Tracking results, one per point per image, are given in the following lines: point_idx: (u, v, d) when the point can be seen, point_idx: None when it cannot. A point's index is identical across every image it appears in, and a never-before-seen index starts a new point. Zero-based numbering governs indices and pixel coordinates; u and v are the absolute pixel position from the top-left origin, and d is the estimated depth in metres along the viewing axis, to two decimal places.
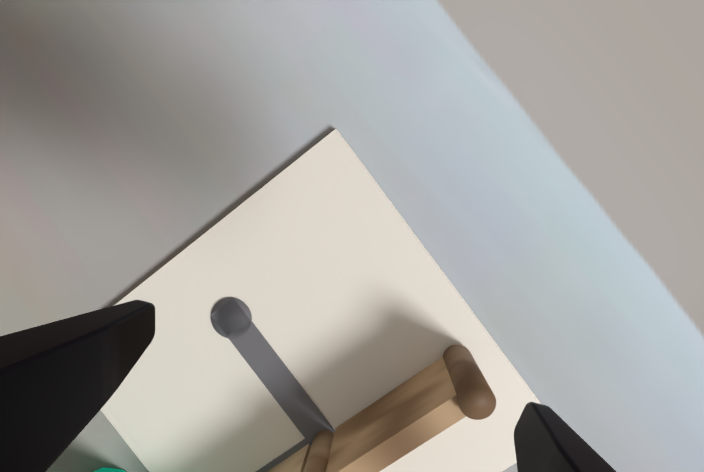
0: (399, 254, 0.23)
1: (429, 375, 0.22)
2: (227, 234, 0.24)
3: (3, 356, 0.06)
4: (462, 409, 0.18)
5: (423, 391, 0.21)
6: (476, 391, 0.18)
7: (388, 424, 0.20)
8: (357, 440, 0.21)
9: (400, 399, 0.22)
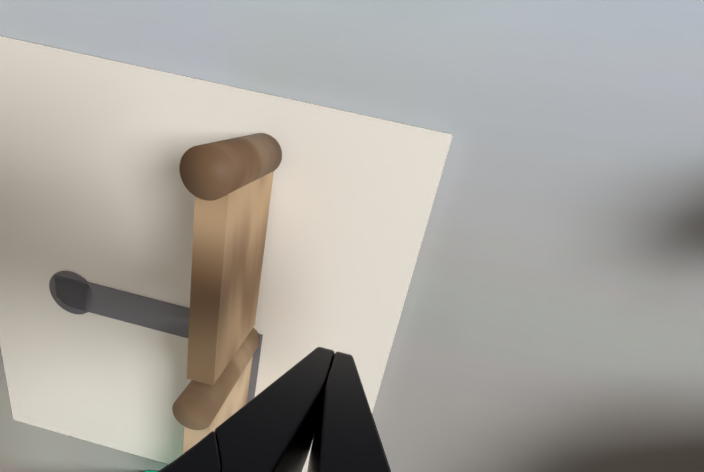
0: (117, 96, 0.17)
1: None
2: None
3: (272, 431, 0.06)
4: (201, 197, 0.12)
5: None
6: (192, 161, 0.12)
7: None
8: None
9: None
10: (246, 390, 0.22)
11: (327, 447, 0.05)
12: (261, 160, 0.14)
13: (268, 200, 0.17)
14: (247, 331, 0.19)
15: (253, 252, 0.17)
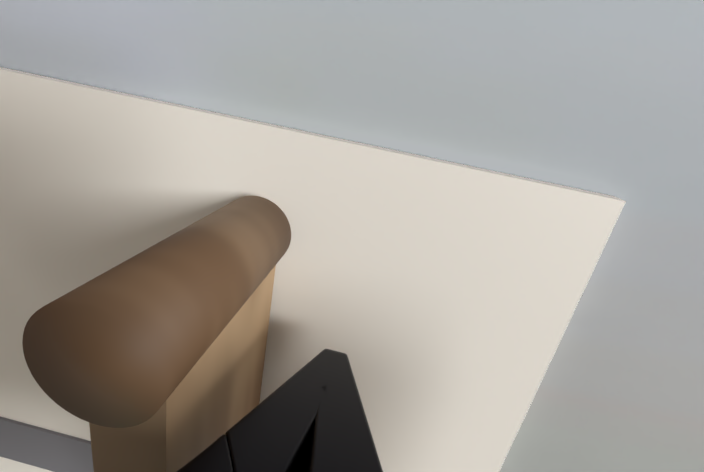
0: None
1: None
2: None
3: (282, 433, 0.06)
4: (89, 418, 0.05)
5: None
6: (55, 338, 0.04)
7: None
8: None
9: None
10: None
11: (318, 445, 0.06)
12: (251, 272, 0.07)
13: (268, 311, 0.10)
14: None
15: (241, 412, 0.09)
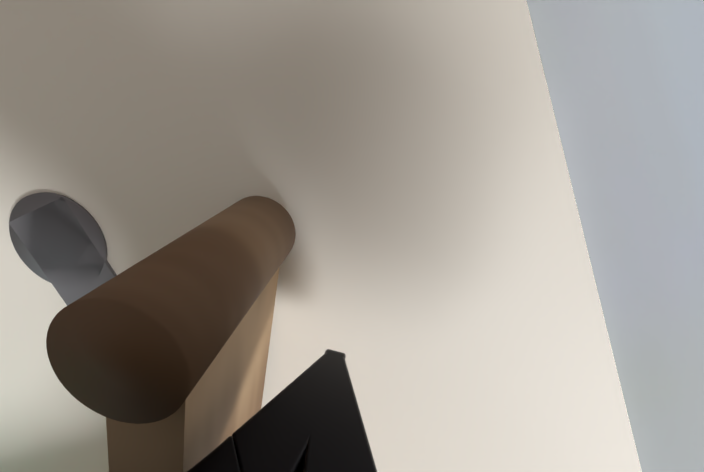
0: (502, 197, 0.09)
1: None
2: (50, 20, 0.08)
3: (289, 435, 0.06)
4: (111, 415, 0.05)
5: None
6: (80, 336, 0.04)
7: None
8: None
9: None
10: None
11: (313, 443, 0.06)
12: (261, 271, 0.07)
13: (272, 310, 0.10)
14: None
15: (246, 411, 0.09)
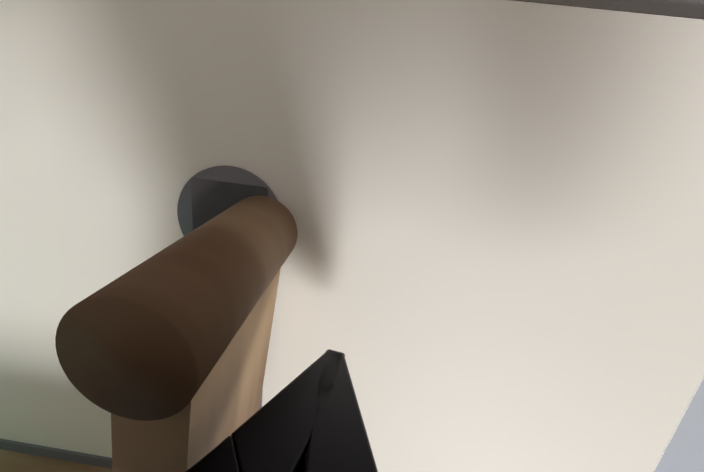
0: (638, 383, 0.10)
1: None
2: (378, 41, 0.08)
3: (288, 435, 0.06)
4: (118, 412, 0.05)
5: None
6: (89, 333, 0.04)
7: None
8: None
9: None
10: None
11: (313, 443, 0.06)
12: (265, 270, 0.07)
13: (272, 309, 0.10)
14: None
15: (246, 409, 0.09)
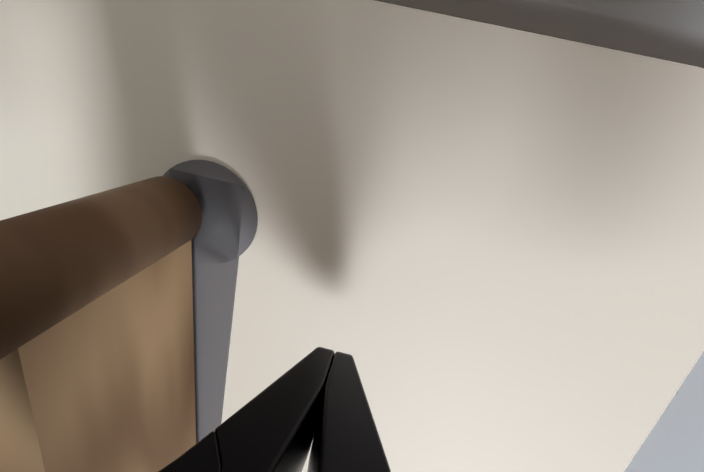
0: (594, 416, 0.10)
1: None
2: (364, 52, 0.08)
3: (272, 431, 0.06)
4: None
5: None
6: None
7: None
8: None
9: None
10: None
11: (327, 447, 0.06)
12: (132, 241, 0.07)
13: (188, 290, 0.10)
14: None
15: (162, 388, 0.09)
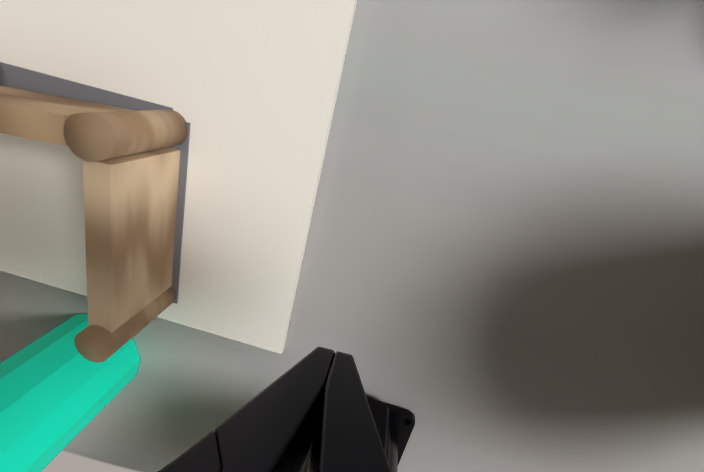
0: None
1: None
2: None
3: (272, 430, 0.06)
4: None
5: None
6: None
7: None
8: None
9: None
10: (173, 193, 0.20)
11: (327, 447, 0.06)
12: None
13: (9, 88, 0.19)
14: None
15: (22, 94, 0.18)
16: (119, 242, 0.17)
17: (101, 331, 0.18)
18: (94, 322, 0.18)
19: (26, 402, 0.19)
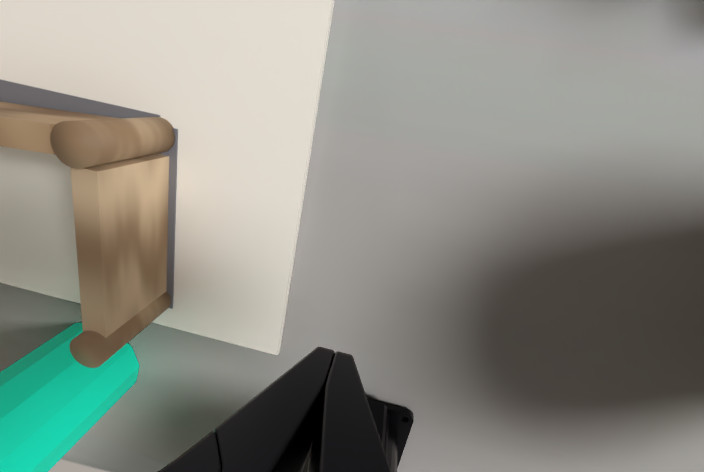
0: None
1: None
2: None
3: (272, 430, 0.06)
4: None
5: None
6: None
7: None
8: None
9: None
10: (164, 198, 0.20)
11: (327, 447, 0.05)
12: None
13: (2, 102, 0.20)
14: None
15: (13, 107, 0.18)
16: (109, 247, 0.17)
17: (95, 336, 0.18)
18: (88, 328, 0.18)
19: (24, 410, 0.19)
